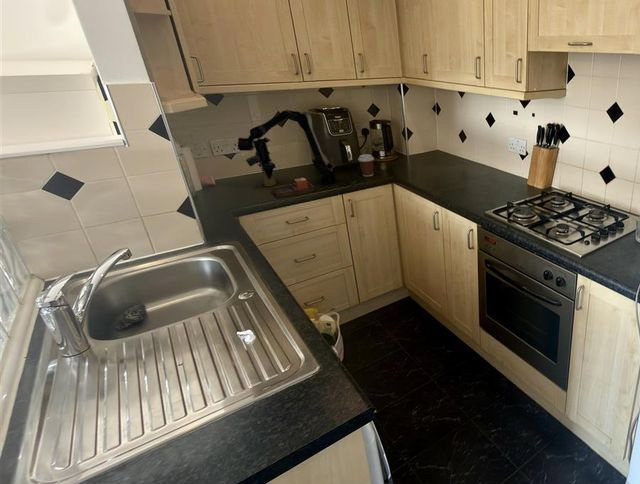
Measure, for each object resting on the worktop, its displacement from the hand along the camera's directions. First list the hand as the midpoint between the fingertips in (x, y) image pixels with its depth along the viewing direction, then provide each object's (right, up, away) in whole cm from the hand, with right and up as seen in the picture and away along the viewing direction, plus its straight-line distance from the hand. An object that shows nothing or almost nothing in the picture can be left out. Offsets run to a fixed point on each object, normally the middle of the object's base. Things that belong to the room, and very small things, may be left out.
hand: (268, 177), depth 226 cm
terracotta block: (+22, -6, -6) cm, 23 cm away
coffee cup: (+48, +4, +21) cm, 53 cm away
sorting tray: (+18, -8, -8) cm, 22 cm away
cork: (0, -4, +2) cm, 4 cm away
